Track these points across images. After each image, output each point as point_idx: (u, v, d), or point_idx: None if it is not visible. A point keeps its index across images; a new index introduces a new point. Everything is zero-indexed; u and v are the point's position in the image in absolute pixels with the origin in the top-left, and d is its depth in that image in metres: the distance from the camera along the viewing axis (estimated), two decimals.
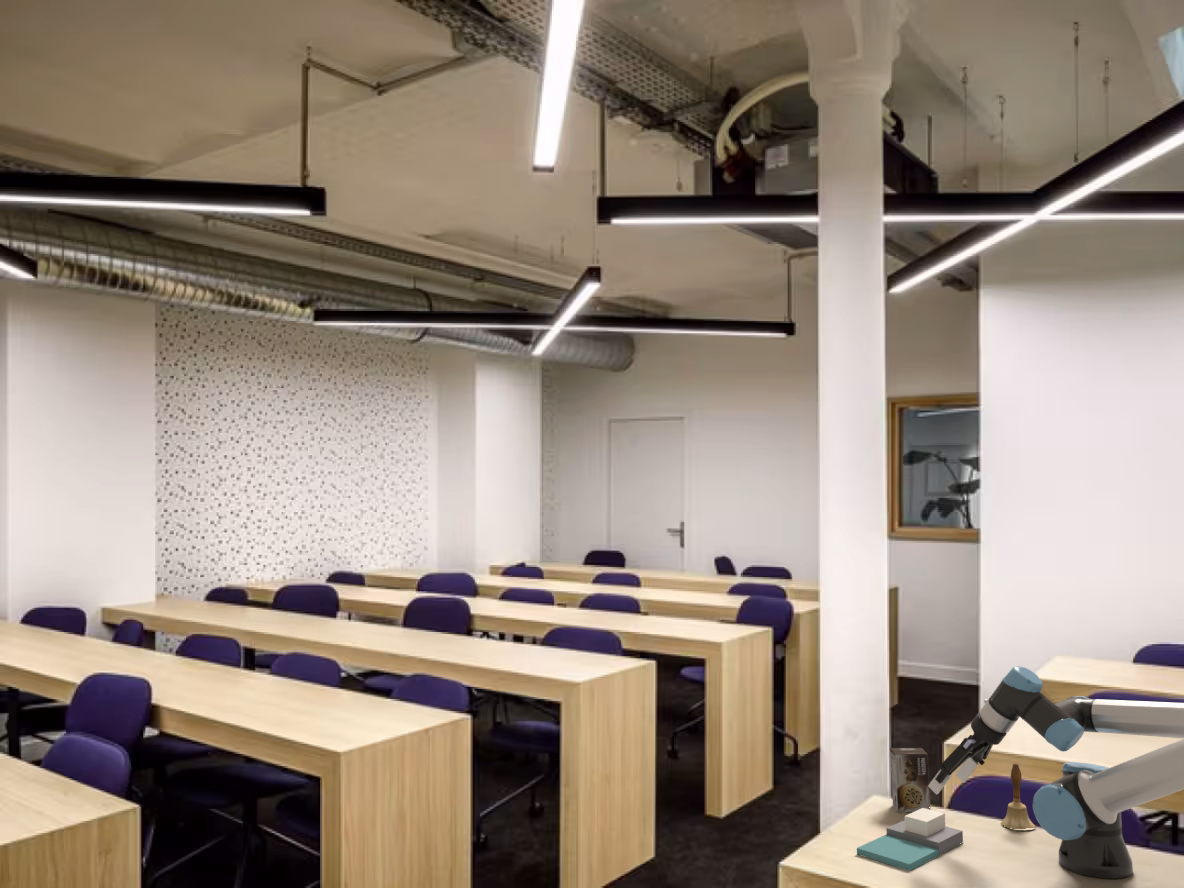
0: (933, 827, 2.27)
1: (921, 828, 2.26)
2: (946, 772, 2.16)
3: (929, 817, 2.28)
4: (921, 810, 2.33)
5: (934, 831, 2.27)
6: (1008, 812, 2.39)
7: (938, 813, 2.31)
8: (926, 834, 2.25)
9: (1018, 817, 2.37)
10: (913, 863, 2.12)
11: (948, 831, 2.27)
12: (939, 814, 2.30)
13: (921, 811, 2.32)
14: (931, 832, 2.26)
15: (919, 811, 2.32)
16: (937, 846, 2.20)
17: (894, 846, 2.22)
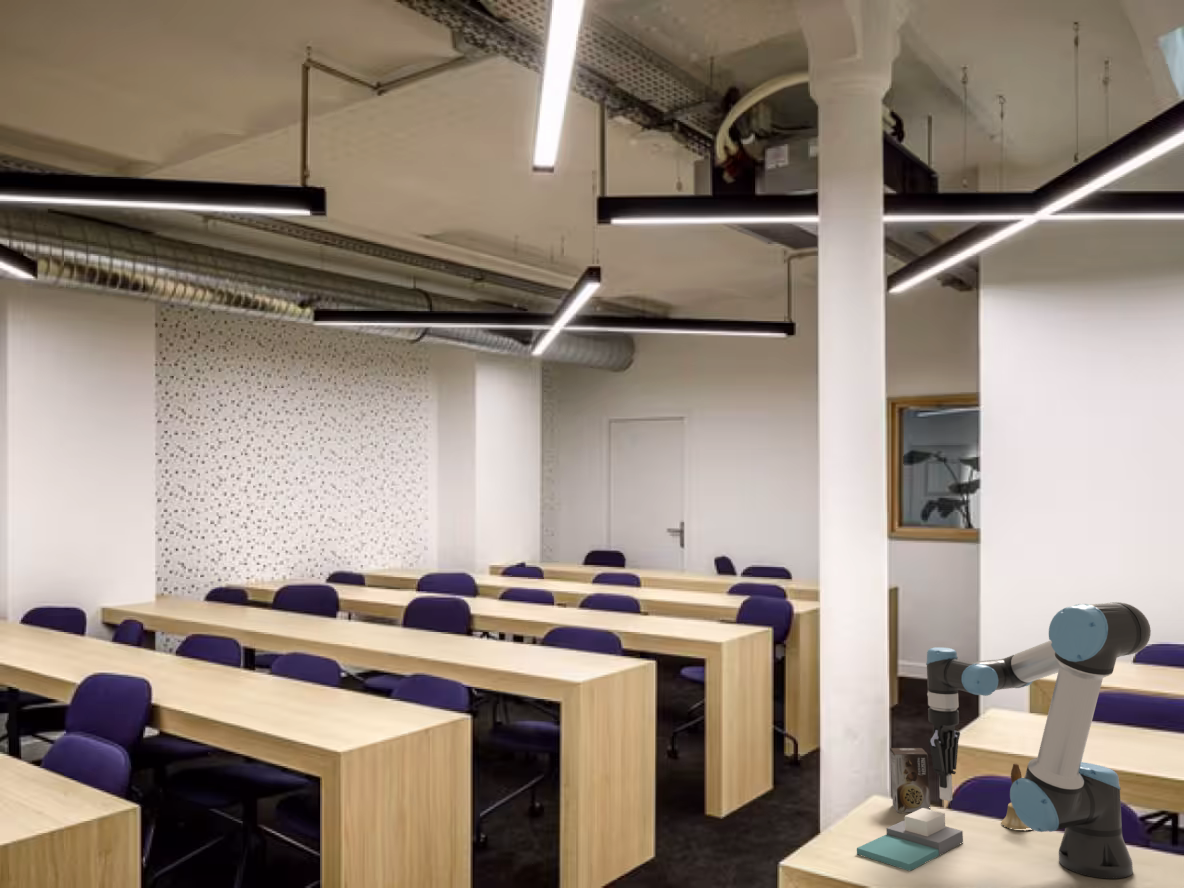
0: (933, 827, 2.27)
1: (921, 828, 2.26)
2: (941, 771, 2.35)
3: (929, 817, 2.28)
4: (921, 810, 2.33)
5: (934, 831, 2.27)
6: (1008, 812, 2.39)
7: (938, 813, 2.31)
8: (926, 834, 2.25)
9: (1018, 817, 2.37)
10: (913, 863, 2.12)
11: (948, 831, 2.27)
12: (939, 814, 2.30)
13: (921, 811, 2.32)
14: (931, 832, 2.26)
15: (919, 811, 2.32)
16: (937, 846, 2.20)
17: (894, 846, 2.22)
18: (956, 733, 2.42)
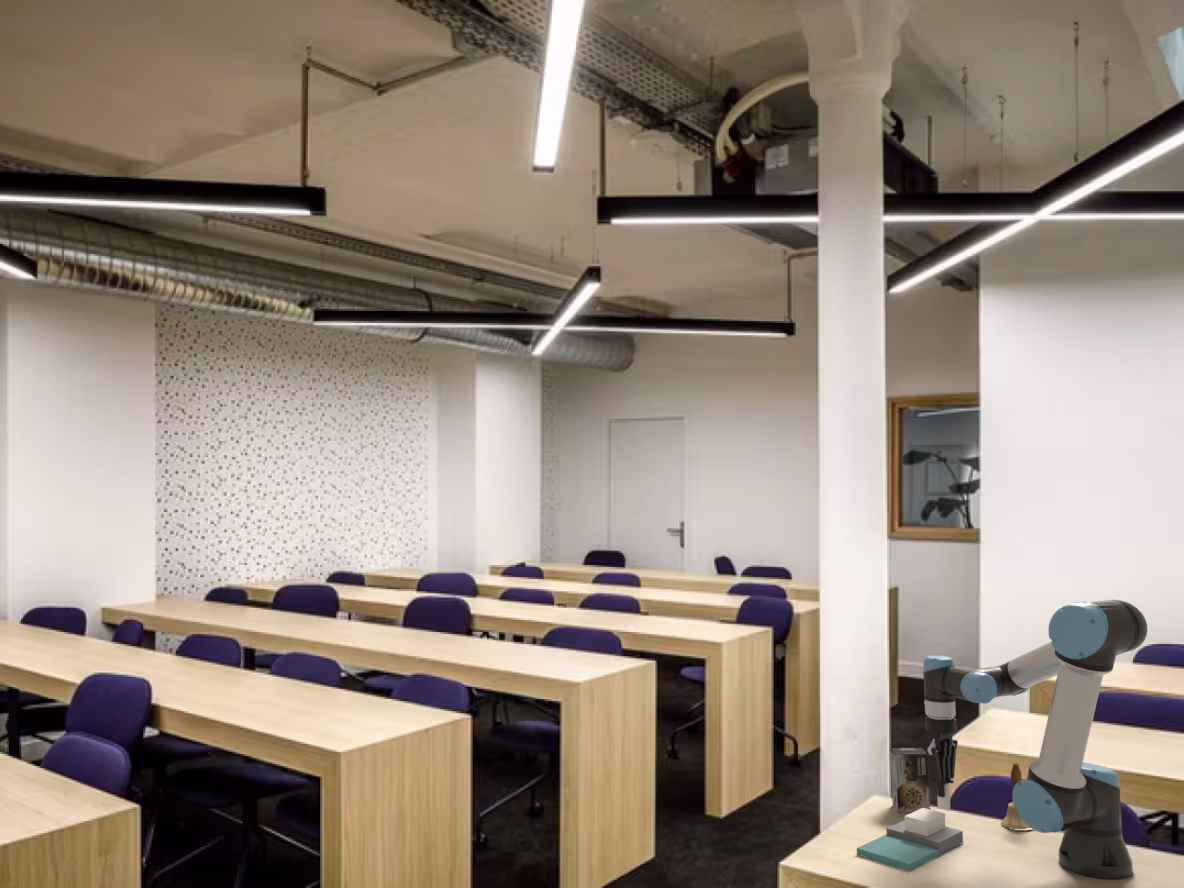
0: (933, 827, 2.27)
1: (921, 828, 2.26)
2: (939, 780, 2.34)
3: (929, 817, 2.28)
4: (921, 810, 2.33)
5: (934, 831, 2.27)
6: (1008, 812, 2.39)
7: (938, 813, 2.31)
8: (926, 834, 2.25)
9: (1018, 817, 2.37)
10: (913, 863, 2.12)
11: (948, 831, 2.27)
12: (939, 814, 2.30)
13: (921, 811, 2.32)
14: (931, 832, 2.26)
15: (919, 811, 2.32)
16: (937, 846, 2.20)
17: (894, 846, 2.22)
18: (954, 742, 2.40)
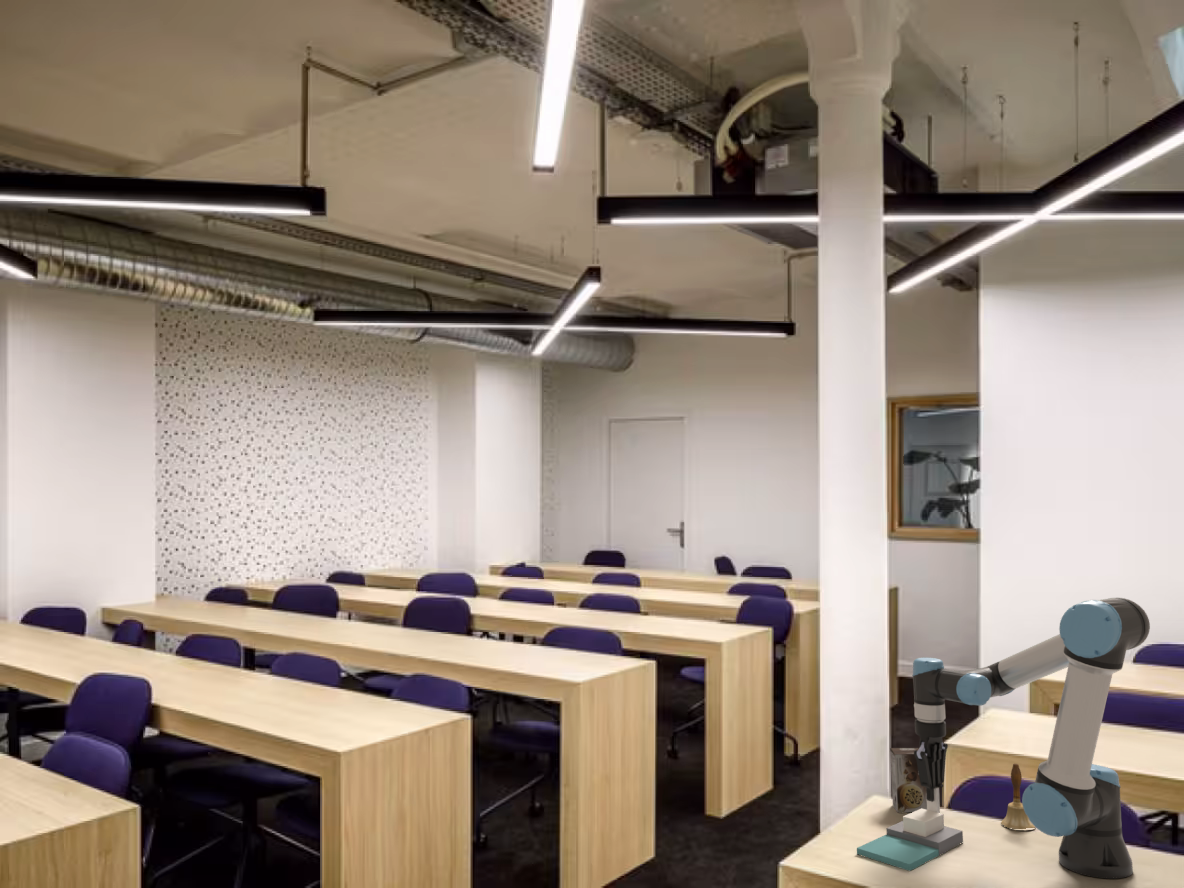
0: (932, 827, 2.26)
1: (919, 829, 2.25)
2: (928, 784, 2.31)
3: (928, 817, 2.28)
4: (920, 810, 2.33)
5: (932, 832, 2.26)
6: (1008, 812, 2.39)
7: (937, 814, 2.30)
8: (924, 835, 2.24)
9: (1018, 817, 2.37)
10: (913, 863, 2.12)
11: (948, 831, 2.27)
12: (938, 815, 2.30)
13: (920, 812, 2.32)
14: (929, 833, 2.26)
15: (918, 811, 2.32)
16: (937, 846, 2.20)
17: (894, 846, 2.22)
18: (944, 745, 2.37)
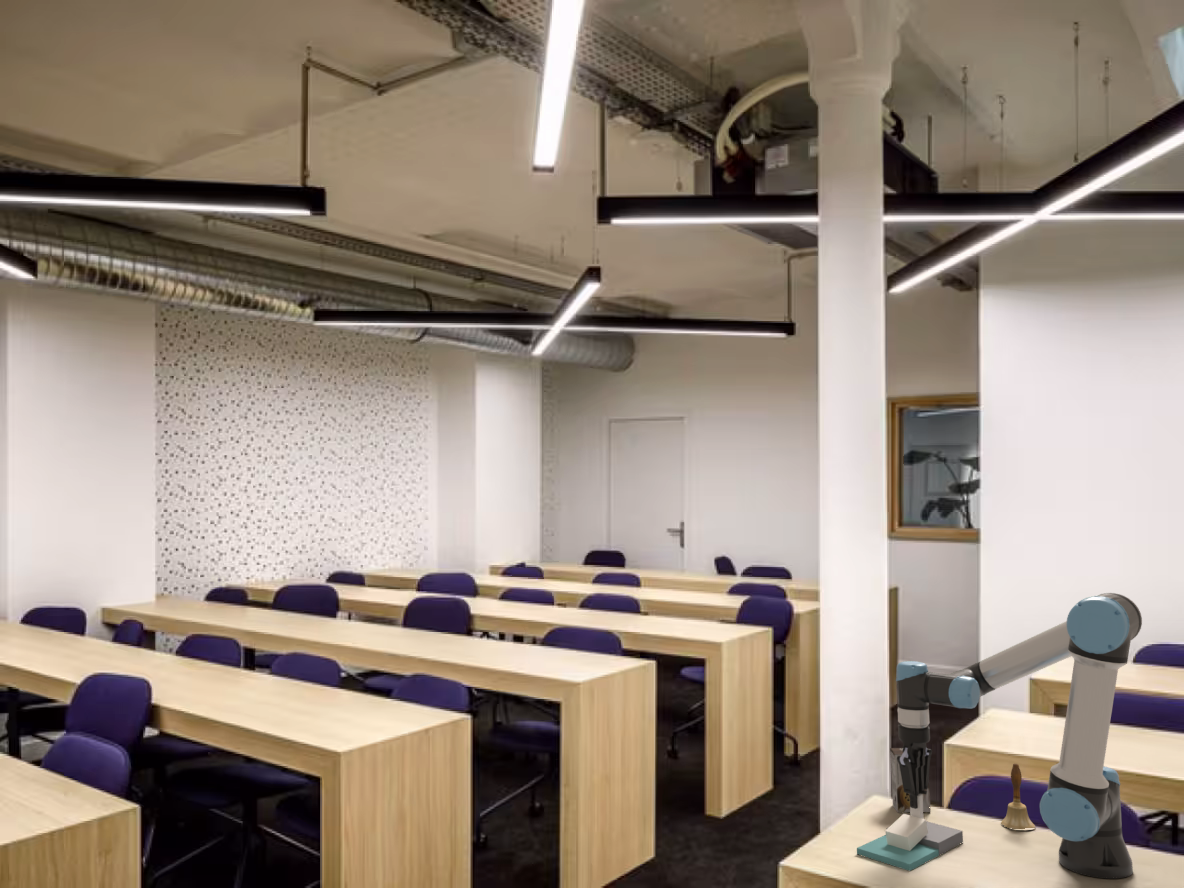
0: (915, 838, 2.21)
1: (902, 843, 2.20)
2: (911, 791, 2.25)
3: (910, 828, 2.22)
4: (902, 818, 2.27)
5: (916, 842, 2.21)
6: (1008, 812, 2.39)
7: (919, 820, 2.25)
8: (908, 849, 2.19)
9: (1018, 817, 2.37)
10: (913, 863, 2.12)
11: (948, 831, 2.27)
12: (920, 822, 2.24)
13: (902, 820, 2.26)
14: (913, 844, 2.21)
15: (900, 820, 2.27)
16: (937, 846, 2.20)
17: (894, 846, 2.22)
18: (928, 751, 2.31)
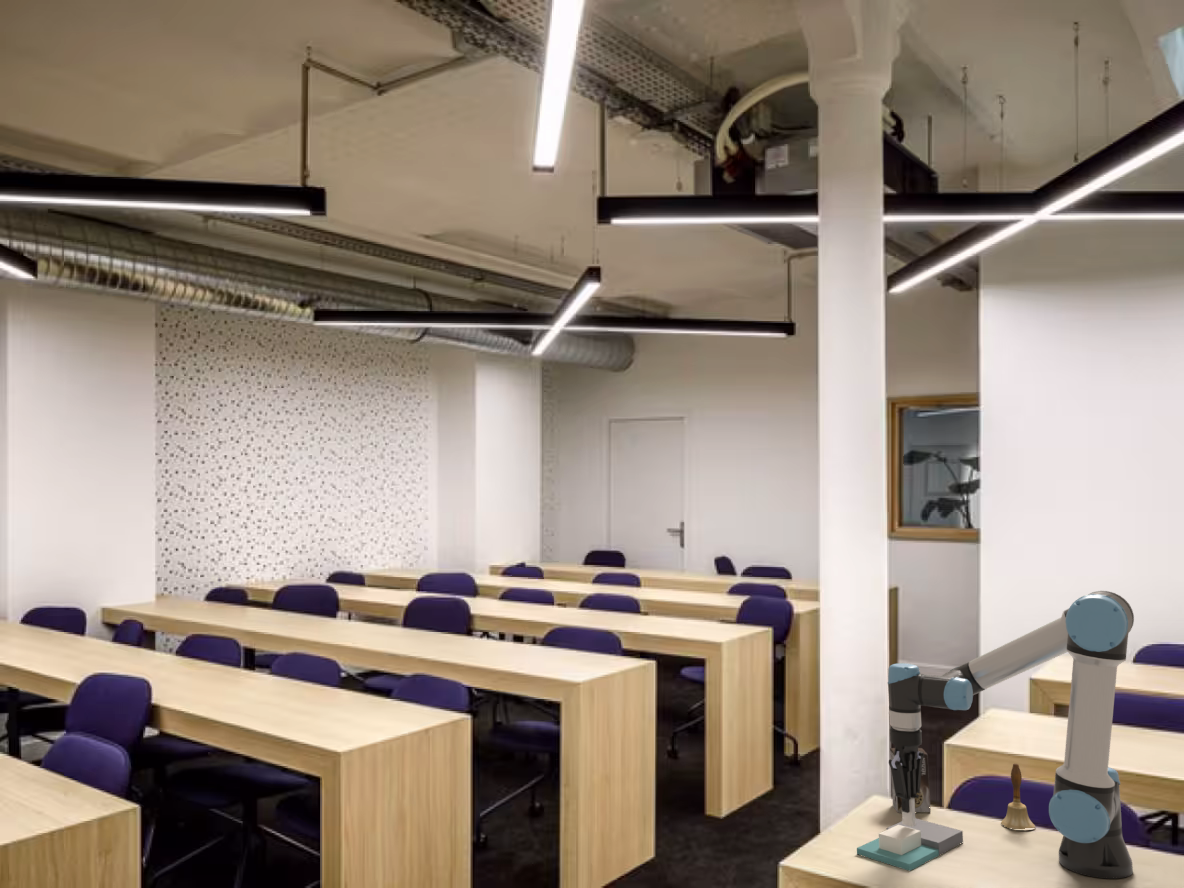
0: (908, 845, 2.19)
1: (895, 846, 2.18)
2: (903, 795, 2.22)
3: (904, 835, 2.20)
4: (896, 827, 2.25)
5: (909, 849, 2.19)
6: (1008, 812, 2.39)
7: (914, 830, 2.23)
8: (900, 852, 2.17)
9: (1018, 817, 2.37)
10: (913, 863, 2.12)
11: (948, 831, 2.27)
12: (915, 831, 2.22)
13: (896, 828, 2.25)
14: (906, 850, 2.18)
15: (894, 828, 2.25)
16: (937, 846, 2.20)
17: None
18: (920, 754, 2.29)
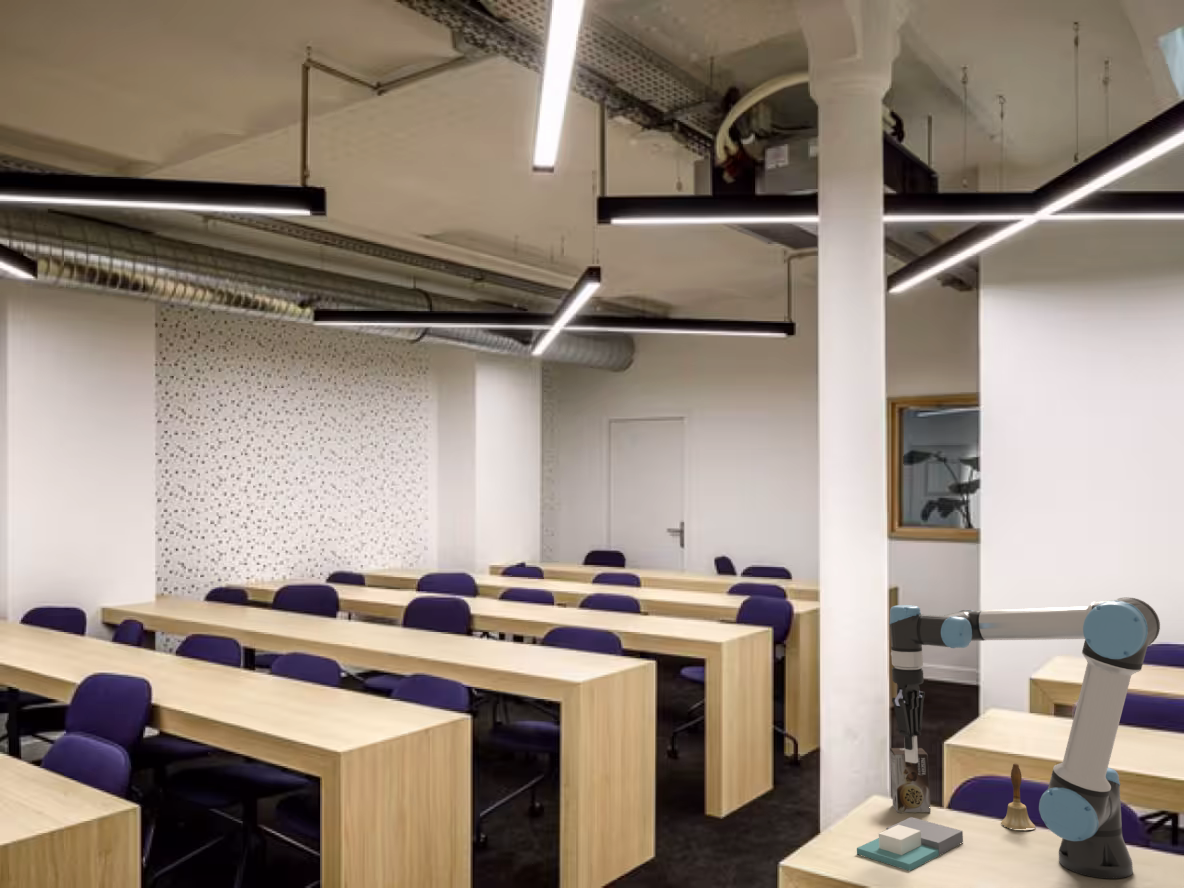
0: (908, 845, 2.19)
1: (895, 846, 2.18)
2: (906, 732, 2.27)
3: (904, 835, 2.20)
4: (896, 827, 2.25)
5: (909, 849, 2.19)
6: (1008, 812, 2.39)
7: (914, 830, 2.23)
8: (900, 852, 2.17)
9: (1018, 817, 2.37)
10: (913, 863, 2.12)
11: (948, 831, 2.27)
12: (915, 831, 2.22)
13: (896, 828, 2.25)
14: (906, 850, 2.18)
15: (894, 828, 2.25)
16: (937, 846, 2.20)
17: None
18: (921, 693, 2.34)
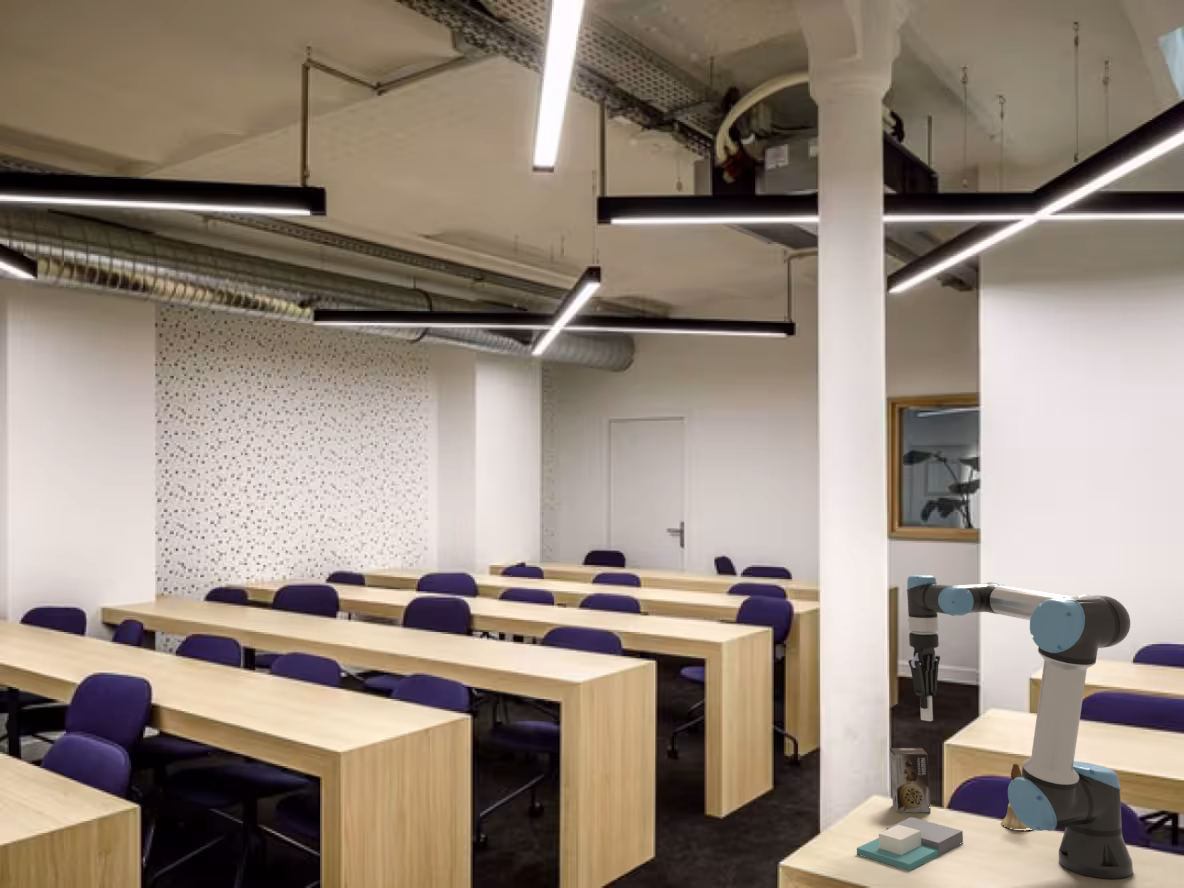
0: (908, 845, 2.19)
1: (895, 846, 2.18)
2: (922, 692, 2.44)
3: (904, 835, 2.20)
4: (896, 827, 2.25)
5: (909, 849, 2.19)
6: (1008, 812, 2.39)
7: (914, 830, 2.23)
8: (900, 852, 2.17)
9: None
10: (913, 863, 2.12)
11: (948, 831, 2.27)
12: (915, 831, 2.22)
13: (896, 828, 2.25)
14: (906, 850, 2.18)
15: (894, 828, 2.25)
16: (937, 846, 2.20)
17: None
18: (936, 657, 2.51)
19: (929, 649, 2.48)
